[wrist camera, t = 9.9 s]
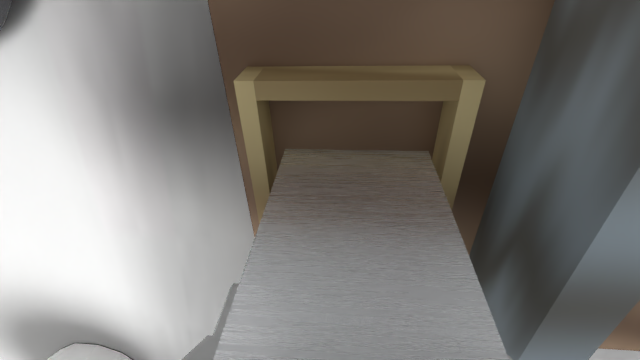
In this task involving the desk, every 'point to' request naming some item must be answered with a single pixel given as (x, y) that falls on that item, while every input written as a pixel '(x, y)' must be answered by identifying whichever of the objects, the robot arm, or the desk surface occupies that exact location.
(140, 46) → the desk surface
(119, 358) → the vase
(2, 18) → the planter
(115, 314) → the desk surface
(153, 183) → the desk surface
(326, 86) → the board
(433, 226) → the bar
